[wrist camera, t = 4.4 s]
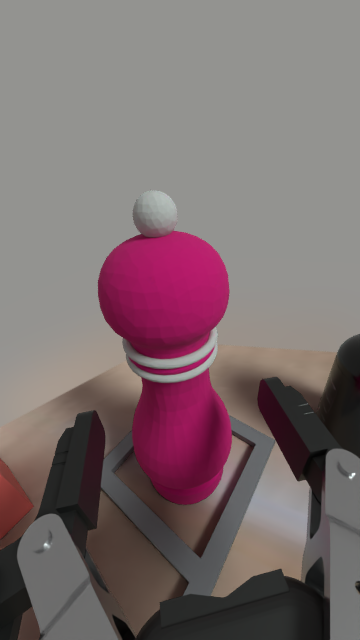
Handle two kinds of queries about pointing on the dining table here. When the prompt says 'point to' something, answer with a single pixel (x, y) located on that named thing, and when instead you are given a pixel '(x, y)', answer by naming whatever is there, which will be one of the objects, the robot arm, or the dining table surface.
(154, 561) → the dining table surface
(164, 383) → the pepper mill
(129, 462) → the dining table surface
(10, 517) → the die
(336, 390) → the supplement bottle
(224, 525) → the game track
